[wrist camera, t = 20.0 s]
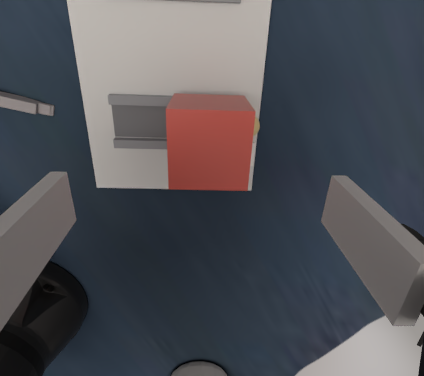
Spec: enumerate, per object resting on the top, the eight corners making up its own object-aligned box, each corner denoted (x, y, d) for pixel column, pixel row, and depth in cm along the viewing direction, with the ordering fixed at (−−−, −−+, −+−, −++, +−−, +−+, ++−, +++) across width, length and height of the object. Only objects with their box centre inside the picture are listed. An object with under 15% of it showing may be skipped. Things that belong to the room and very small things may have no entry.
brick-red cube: (175, 159, 27) (168, 189, 21) (174, 93, 24) (165, 108, 19) (239, 160, 27) (247, 190, 22) (244, 95, 24) (255, 111, 19)
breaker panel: (102, 179, 32) (94, 191, 29) (52, -162, 20) (30, -191, 18) (248, 182, 33) (252, 194, 30) (282, -148, 21) (292, -174, 18)
